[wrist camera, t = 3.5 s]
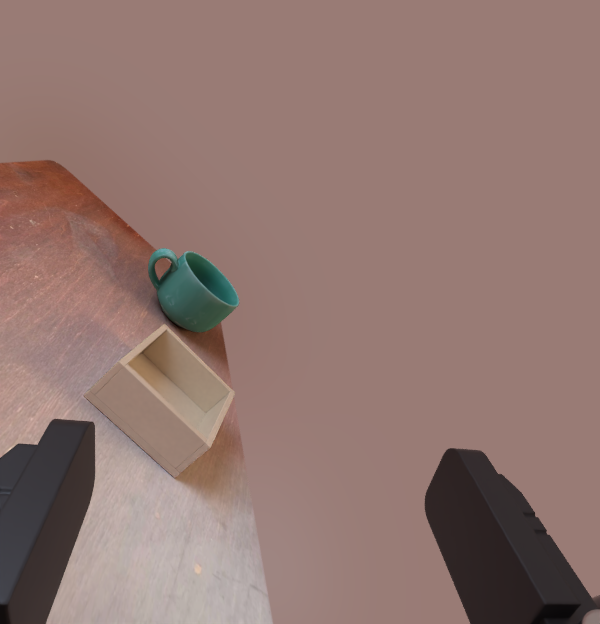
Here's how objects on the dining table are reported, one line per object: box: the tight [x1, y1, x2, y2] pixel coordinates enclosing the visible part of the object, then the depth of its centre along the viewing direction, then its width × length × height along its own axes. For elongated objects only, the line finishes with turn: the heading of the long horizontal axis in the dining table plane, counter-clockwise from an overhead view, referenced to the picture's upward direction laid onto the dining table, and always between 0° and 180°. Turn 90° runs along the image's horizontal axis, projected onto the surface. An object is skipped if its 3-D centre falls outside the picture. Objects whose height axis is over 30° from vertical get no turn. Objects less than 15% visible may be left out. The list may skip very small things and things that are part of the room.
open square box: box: [84, 324, 235, 478], centre depth 55 cm, size 14×14×6 cm
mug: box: [148, 248, 239, 332], centre depth 76 cm, size 17×12×10 cm
